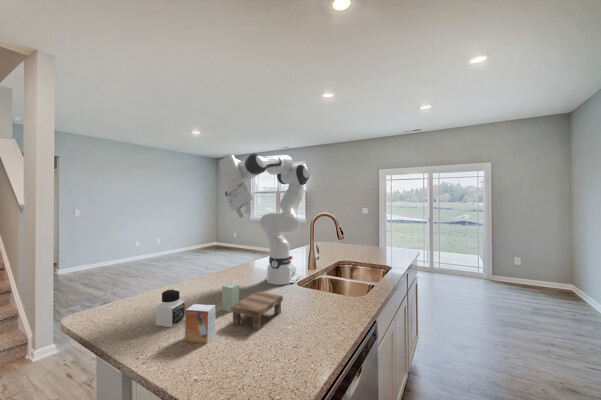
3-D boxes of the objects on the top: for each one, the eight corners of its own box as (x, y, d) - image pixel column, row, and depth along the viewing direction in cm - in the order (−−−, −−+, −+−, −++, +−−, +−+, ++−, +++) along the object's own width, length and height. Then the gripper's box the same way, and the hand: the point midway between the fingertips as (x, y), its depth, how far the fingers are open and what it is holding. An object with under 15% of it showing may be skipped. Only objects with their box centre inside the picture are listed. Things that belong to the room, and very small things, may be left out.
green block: (229, 305, 117) (229, 282, 117) (238, 307, 115) (239, 284, 115) (221, 309, 113) (222, 286, 113) (231, 312, 111) (231, 287, 111)
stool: (258, 307, 115) (258, 291, 115) (282, 312, 110) (282, 295, 110) (230, 325, 99) (231, 306, 99) (258, 331, 94) (258, 312, 94)
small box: (184, 342, 87) (184, 309, 87) (193, 333, 93) (193, 303, 93) (207, 344, 86) (207, 311, 86) (215, 335, 92) (215, 304, 92)
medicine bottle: (172, 327, 97) (172, 294, 97) (155, 325, 98) (155, 293, 98) (184, 319, 104) (185, 288, 104) (168, 317, 105) (168, 287, 105)
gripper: (250, 179, 120) (259, 208, 119) (235, 192, 137) (243, 218, 135) (237, 181, 117) (246, 211, 115) (223, 195, 133) (232, 221, 132)
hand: (244, 215), depth 126 cm, fingers open, 8 cm apart
